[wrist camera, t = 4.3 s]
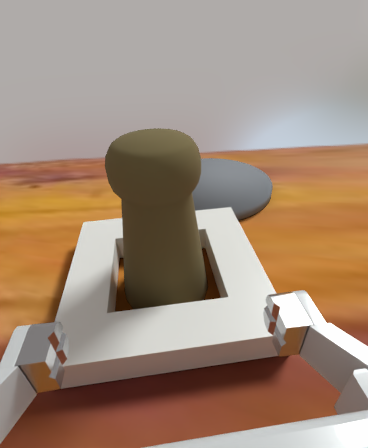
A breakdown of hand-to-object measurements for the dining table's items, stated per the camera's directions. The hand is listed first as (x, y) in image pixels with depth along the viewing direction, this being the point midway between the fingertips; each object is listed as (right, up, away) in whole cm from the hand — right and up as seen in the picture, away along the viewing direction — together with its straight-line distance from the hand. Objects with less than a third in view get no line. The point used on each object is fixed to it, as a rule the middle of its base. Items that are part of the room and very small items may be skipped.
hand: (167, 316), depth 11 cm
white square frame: (-1, -1, +9) cm, 10 cm away
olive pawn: (-1, -1, +10) cm, 10 cm away
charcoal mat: (+4, +8, +21) cm, 23 cm away
